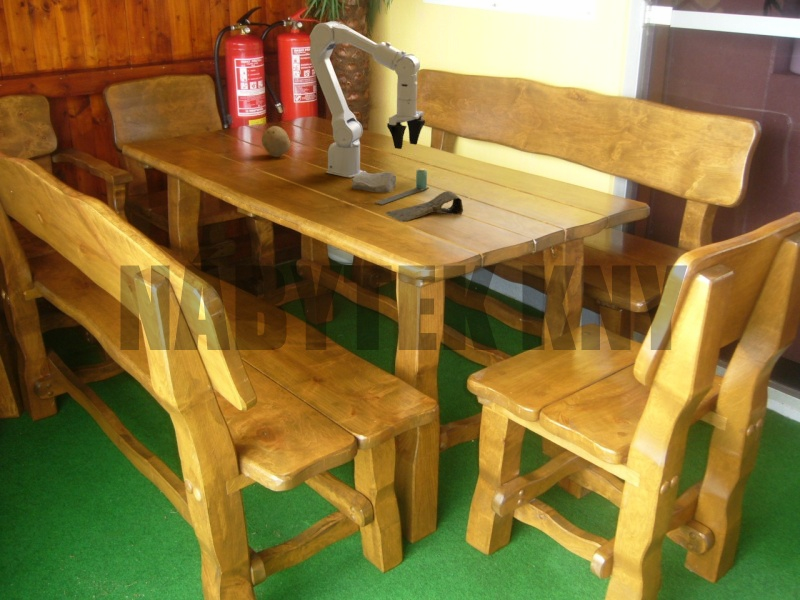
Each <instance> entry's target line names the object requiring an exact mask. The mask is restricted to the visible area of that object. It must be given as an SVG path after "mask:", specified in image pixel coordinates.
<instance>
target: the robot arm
mask: <svg viewBox="0 0 800 600" xmlns="http://www.w3.org/2000/svg"><path fill="white" fill-rule="evenodd" d="M309 39H310V46H309V47H310V49H309V60H310V62H311V64H312V68H313V70H314V73H315V75H316V78H317V80H318V83H319V85H320V88H321V91H322V93H323V96H324V98H325V101H326V104H327V105H328V106H327V107H328V108H329V111H330V113H331V117H332V118H331V127H332V137H333V140H334V142H333V143H330V145H329V146H328V147H329V148H328V149H327V150H328V151H327V170H326V171H325V172H326V173H327V174H331V175H335V176H338V177H339V176H340V177H344V178H349V179H350V178H354V177H355V175H357V174H359V173H360V172H367V171H366V170H362V169H361V142H360V138H361V137H362V135H363V132H364V131H363V129H364V128H363V126H362V123H360V122H359V121H358V120H357V118H356V116H355V113H353V112H352V111H351V109H349V106H348V103H347V100H346V98H345V95H344V94H343V90H342V88H341V85H340V83H339V80H338V77H337V75H336V72H335V70H334V67H333V64H332V61H331V60H330V57H331V55H332V53H333V51H334V49H335V47H337V45H338V44H349V45H351V46H353V47H355V48H357V49H359V50H361V51H363V52H366V53H368V54H370V55H371V56H372V59H373V61H375V62H376V63H378V64H380V65H382V66H383V67H386V68H388V69H390V70H391V71H394V72H395V74H396V75H397V83H396V85H397V86H396V114H394V115H392V116H390V117H388V122H387V123H386V124H387V125H386V126H387V129H388V130H389V132H390V135H391V138H392V142H393V146H394V147H393V148H394V149H398V150H402V149H403V145H404V136H405V135H404V134H405V131H406V130H407V129H406V128H408V138H409V139H408V140H409V141H408V142H409V144H410V145H415V146H416V145H417V144H418V142H419V138H420V134H421V132H422V129H423V128H424V126H425V123H426V119H424V115H425V114H424V111H421V110H418V109H417V103H418V102H417V101H418V74H417V73H418V72H419V71H420V68H421V64H420V60H419V58H418V57H417V56H415V54H412V53H409V54H407V51H405V50H400V49H398V48H396V47H394V46H392V43H391V42H390V41H386V42H384V41H382V42H379V43H377V42H375V41H373V40H371V39H369V38H368V37H366V36H364V35H363V34H361V33H359V32H358V31H356V30H354V29H353V28H351V27H349V26H347V25H346V24H342V23H341V24H340V22H338V21H336V20H330V21H328V22H320V23H318V24H316V25H315V26H314V27H313V29H312V31H311V33H310V34H309ZM405 122H406V124H407V125H403V124H402V123H405Z"/></svg>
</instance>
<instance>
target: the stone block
mask: <svg viewBox="0 0 800 600" xmlns="http://www.w3.org/2000/svg"><path fill="white" fill-rule="evenodd" d="M396 176H397V175H396V174H395V173H392V172H390V171H383V172H381V171H380V172H377V173H369V172H367V171H366V172H360V173H359V174H357V175H355V176H354V177H352V183H351V186H352V189H354V190H362V191H368V192H373V193H390V192H392V191H393V190H394V188H395V186H396V184H397V183H396V181H397V178H396Z"/></svg>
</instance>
